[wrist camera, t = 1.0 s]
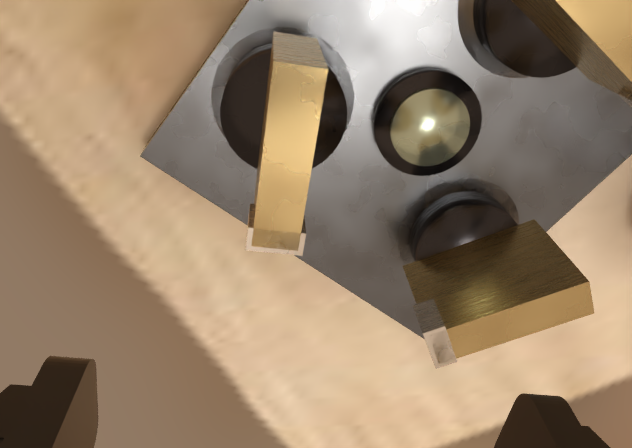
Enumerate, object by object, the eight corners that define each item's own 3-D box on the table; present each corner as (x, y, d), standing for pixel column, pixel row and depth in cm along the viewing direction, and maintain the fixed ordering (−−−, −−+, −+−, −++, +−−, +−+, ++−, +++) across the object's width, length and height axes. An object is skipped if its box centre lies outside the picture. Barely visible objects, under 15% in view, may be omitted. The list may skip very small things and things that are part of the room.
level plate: (419, -245, 22) (437, -265, 19) (693, 72, 29) (731, 86, 26) (146, 145, 29) (134, 165, 26) (420, 324, 36) (431, 353, 33)
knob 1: (230, 16, 24) (213, 52, 18) (355, 36, 25) (384, 77, 18) (217, 168, 27) (200, 245, 21) (328, 181, 28) (345, 259, 22)
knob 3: (512, 171, 29) (583, 245, 22) (531, 255, 31) (599, 344, 25) (381, 218, 30) (411, 304, 23) (410, 297, 32) (445, 393, 26)
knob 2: (436, 3, 24) (495, 34, 18) (532, -111, 23) (638, -124, 16) (539, 102, 27) (624, 160, 20) (633, 6, 25) (761, 36, 19)
